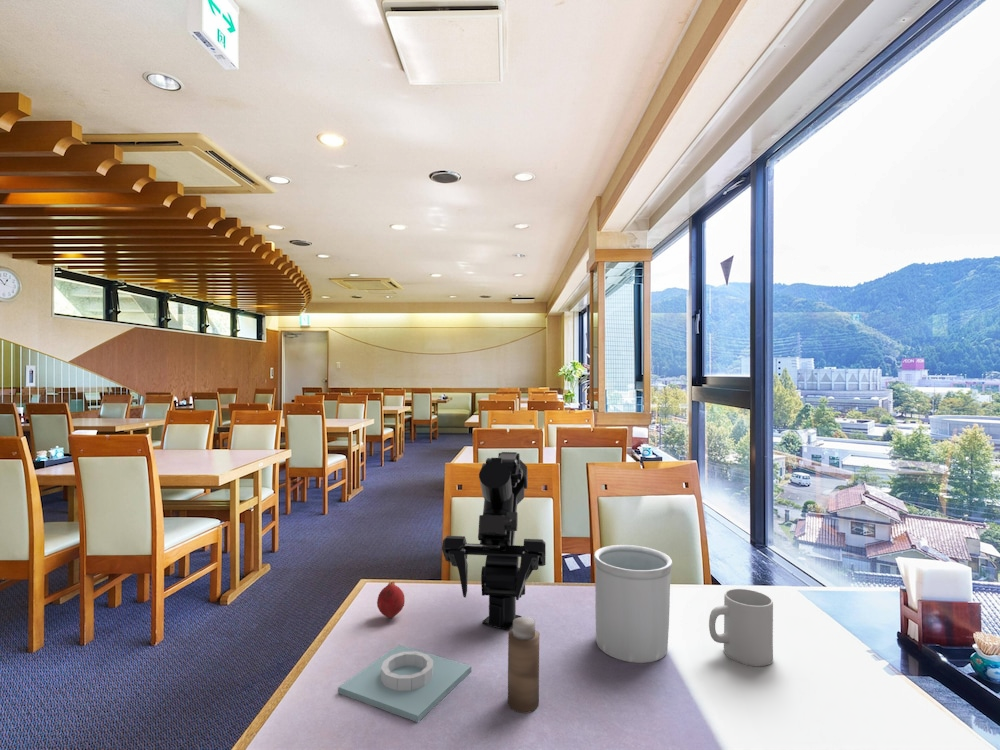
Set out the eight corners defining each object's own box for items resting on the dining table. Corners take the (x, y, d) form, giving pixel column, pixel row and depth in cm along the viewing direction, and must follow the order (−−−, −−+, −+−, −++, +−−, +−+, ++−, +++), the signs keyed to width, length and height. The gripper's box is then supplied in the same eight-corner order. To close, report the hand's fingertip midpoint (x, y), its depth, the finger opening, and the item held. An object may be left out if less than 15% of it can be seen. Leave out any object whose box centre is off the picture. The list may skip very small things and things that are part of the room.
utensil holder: (682, 666, 98) (683, 570, 98) (601, 665, 98) (602, 569, 98) (658, 628, 113) (658, 544, 113) (587, 627, 113) (588, 544, 113)
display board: (398, 649, 103) (399, 634, 103) (471, 671, 95) (471, 654, 95) (338, 693, 89) (338, 674, 89) (417, 722, 81) (418, 702, 81)
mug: (755, 642, 107) (755, 587, 107) (783, 665, 99) (783, 605, 99) (698, 646, 106) (698, 590, 106) (721, 669, 97) (722, 608, 97)
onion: (398, 625, 113) (398, 587, 113) (372, 622, 114) (372, 585, 114) (408, 613, 118) (408, 577, 119) (383, 611, 120) (384, 575, 120)
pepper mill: (515, 690, 90) (516, 612, 90) (543, 699, 87) (544, 619, 88) (502, 706, 85) (503, 624, 85) (531, 716, 83) (531, 631, 83)
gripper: (443, 492, 99) (430, 577, 88) (545, 495, 97) (544, 582, 86) (451, 521, 107) (440, 601, 96) (546, 524, 105) (544, 607, 94)
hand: (490, 597), depth 93 cm, fingers open, 9 cm apart
